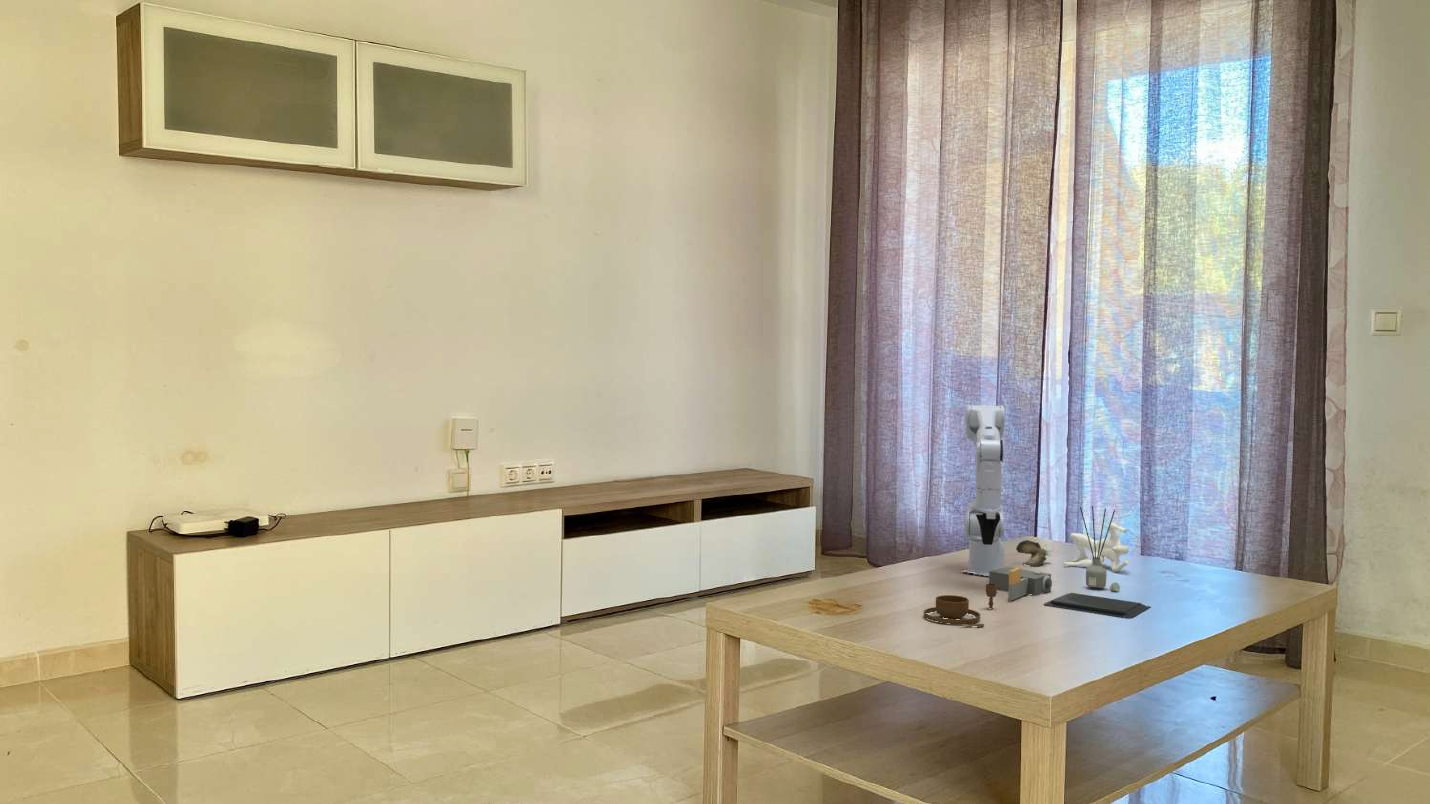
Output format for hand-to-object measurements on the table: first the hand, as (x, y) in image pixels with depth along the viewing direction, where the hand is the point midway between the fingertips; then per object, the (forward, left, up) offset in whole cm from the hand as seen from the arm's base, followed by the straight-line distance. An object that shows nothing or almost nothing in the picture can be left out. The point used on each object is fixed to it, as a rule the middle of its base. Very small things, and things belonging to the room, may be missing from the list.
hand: (987, 544), depth 269 cm
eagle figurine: (-36, -6, -11) cm, 38 cm away
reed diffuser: (-19, +20, -11) cm, 30 cm away
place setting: (+31, +13, -11) cm, 35 cm away
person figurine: (-44, +9, -11) cm, 46 cm away
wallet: (0, +28, -11) cm, 30 cm away
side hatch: (+6, +11, -10) cm, 16 cm away
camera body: (-4, +7, -10) cm, 13 cm away
